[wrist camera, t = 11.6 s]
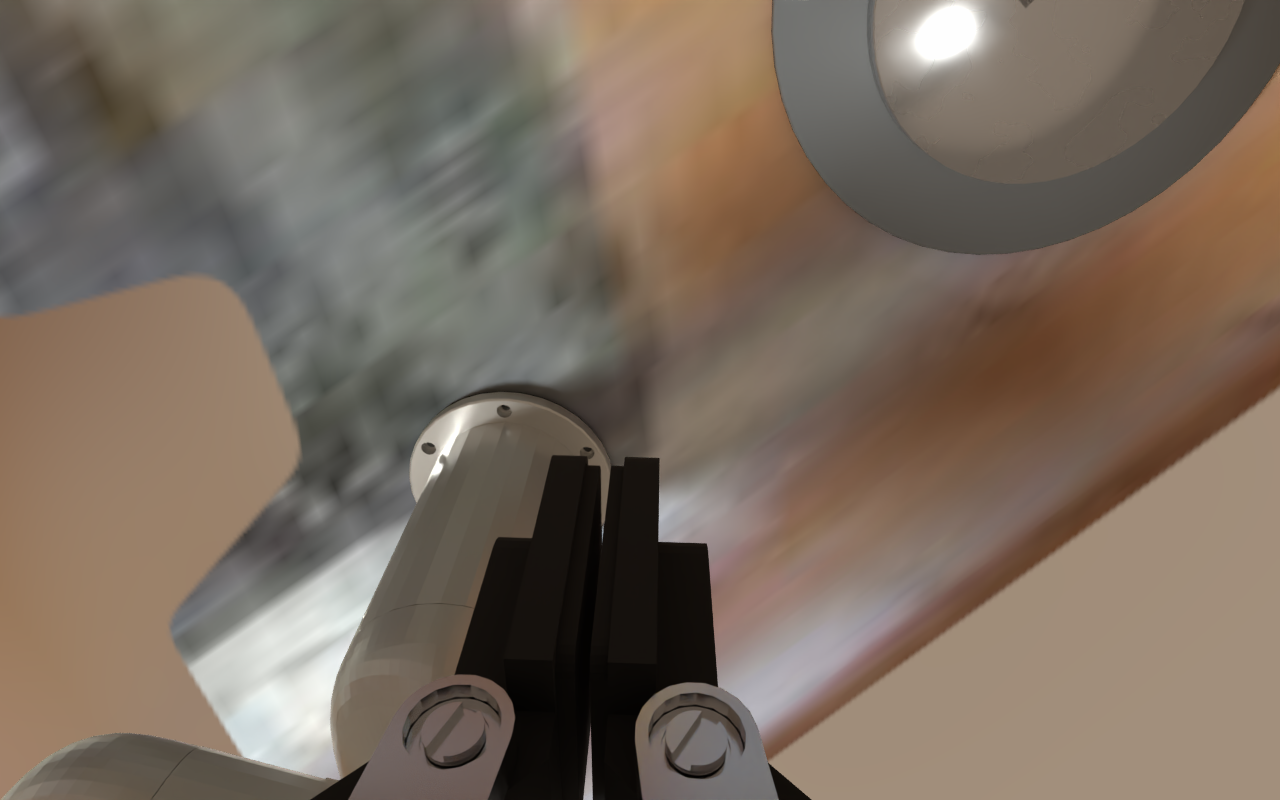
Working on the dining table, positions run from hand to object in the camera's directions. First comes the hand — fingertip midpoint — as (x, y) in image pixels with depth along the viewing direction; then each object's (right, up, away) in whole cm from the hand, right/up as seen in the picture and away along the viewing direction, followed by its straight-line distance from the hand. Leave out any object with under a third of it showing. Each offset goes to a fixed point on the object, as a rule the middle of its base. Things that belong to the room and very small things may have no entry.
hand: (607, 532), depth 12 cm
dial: (+17, +20, +20) cm, 33 cm away
